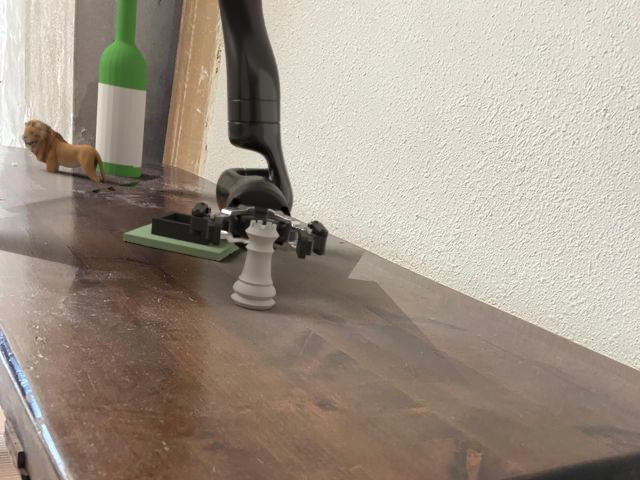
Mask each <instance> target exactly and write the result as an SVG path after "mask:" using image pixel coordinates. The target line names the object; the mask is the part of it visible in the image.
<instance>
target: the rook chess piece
mask: <svg viewBox="0 0 640 480" xmlns="http://www.w3.org/2000/svg"><path fill="white" fill-rule="evenodd" d="M262 223H263V221H261V220H258V221H257V223H256V221H255V220H251V223H250V226H249V227H248V228H247V229H246V233H247V235H248V237H249V244H248V245H247V246H246V248H247V252H246V258H245V261H244V265H243V268H242V271H241V274H239V276H238V279H237V280H236V281H235V282H234V284H233V286H232V290H233V291H234V292H233V293H232V294H231V295H230V297H231V299H232V301H233V303H234V304H235V305H237V306H239V307H242V308H246V309H249V310H250V309H251V310H255V311H256V310H258V311H263V310H264V311H265V310H269V309H272V307H274V306H275V305H276V300H275V299H273V298H274V297H276V294H277V291H276V287H274V285H273V284H274V281H273V280H272V257H273V254H274V253H275V250H274V249H273V243H274V241H275V240H276V239H277V238H278V237H279V234H278V233H277V231H276V227H277V225H276V224H273V225H272V223H271V222H267V223H266V225H262ZM271 226H272V227H271Z"/></svg>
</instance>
